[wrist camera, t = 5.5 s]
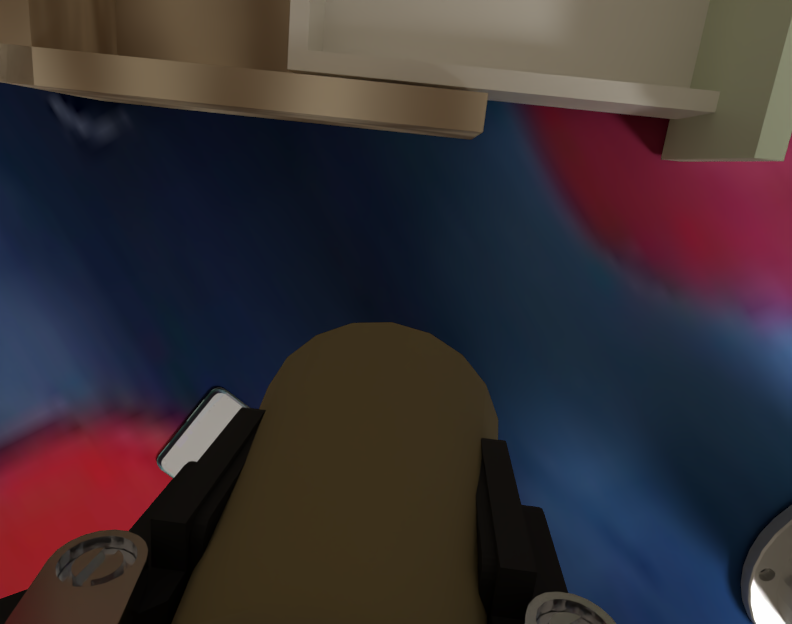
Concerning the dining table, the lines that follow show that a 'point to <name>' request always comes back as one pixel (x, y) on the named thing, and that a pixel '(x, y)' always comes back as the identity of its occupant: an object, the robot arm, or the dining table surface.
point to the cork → (355, 490)
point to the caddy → (208, 65)
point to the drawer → (578, 60)
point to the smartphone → (199, 430)
